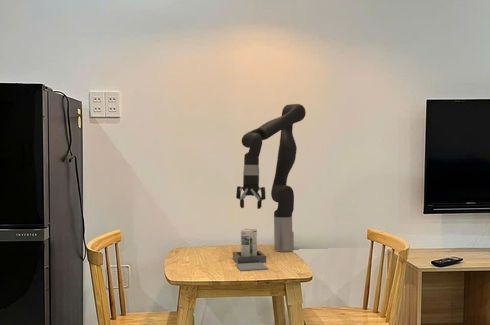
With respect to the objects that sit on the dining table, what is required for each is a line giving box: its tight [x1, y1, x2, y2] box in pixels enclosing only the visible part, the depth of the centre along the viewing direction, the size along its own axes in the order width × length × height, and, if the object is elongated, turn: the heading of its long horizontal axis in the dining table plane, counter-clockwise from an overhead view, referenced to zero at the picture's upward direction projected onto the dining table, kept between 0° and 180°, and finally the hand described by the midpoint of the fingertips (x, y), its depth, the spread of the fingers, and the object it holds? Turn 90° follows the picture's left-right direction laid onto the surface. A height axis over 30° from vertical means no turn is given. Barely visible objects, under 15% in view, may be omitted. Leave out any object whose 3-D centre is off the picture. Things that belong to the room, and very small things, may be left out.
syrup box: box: [240, 228, 258, 257], centre depth 226 cm, size 6×6×14 cm
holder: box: [232, 250, 267, 264], centre depth 226 cm, size 13×13×3 cm
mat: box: [234, 262, 269, 272], centre depth 212 cm, size 12×12×1 cm
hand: (250, 208), depth 234 cm, fingers open, 8 cm apart
